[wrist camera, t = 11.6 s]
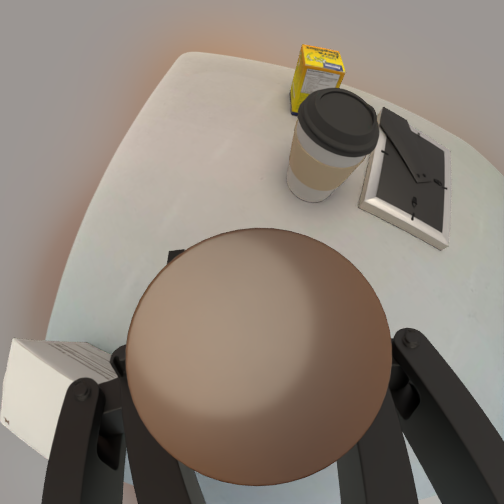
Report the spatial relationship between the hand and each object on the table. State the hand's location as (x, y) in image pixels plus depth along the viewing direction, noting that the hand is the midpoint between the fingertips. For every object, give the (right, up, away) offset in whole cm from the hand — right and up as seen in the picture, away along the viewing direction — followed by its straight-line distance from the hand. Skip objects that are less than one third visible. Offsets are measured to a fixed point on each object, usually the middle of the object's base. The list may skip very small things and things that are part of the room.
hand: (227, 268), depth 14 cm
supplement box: (+10, +25, +29) cm, 40 cm away
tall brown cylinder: (0, -5, +5) cm, 7 cm away
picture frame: (+27, +13, +27) cm, 40 cm away
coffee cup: (+9, +11, +25) cm, 28 cm away
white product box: (-17, -16, +15) cm, 27 cm away
